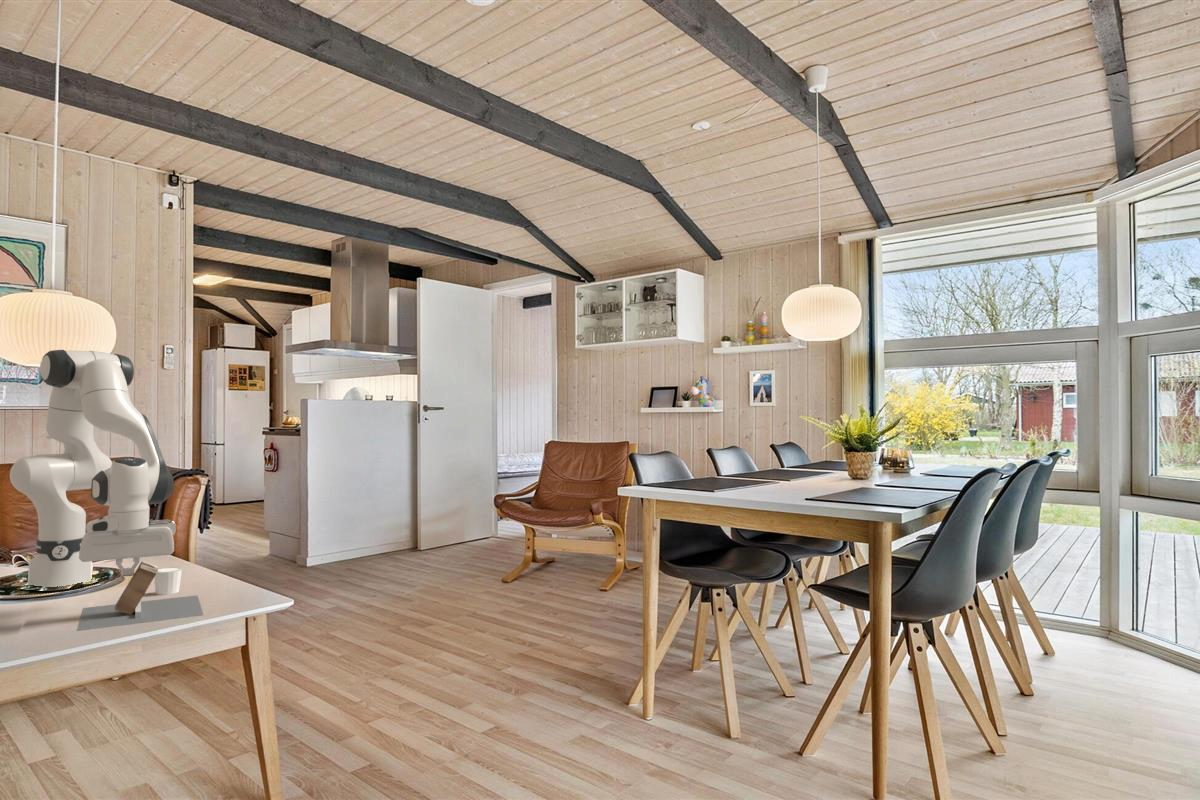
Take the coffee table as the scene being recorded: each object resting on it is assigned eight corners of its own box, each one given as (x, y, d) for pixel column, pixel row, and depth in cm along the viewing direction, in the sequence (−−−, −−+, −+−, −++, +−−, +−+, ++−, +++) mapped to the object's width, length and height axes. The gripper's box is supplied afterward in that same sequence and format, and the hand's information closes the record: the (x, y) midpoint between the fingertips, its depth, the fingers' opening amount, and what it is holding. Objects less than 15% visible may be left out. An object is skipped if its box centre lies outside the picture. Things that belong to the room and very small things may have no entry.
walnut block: (115, 605, 182) (141, 561, 185) (131, 610, 184) (157, 566, 187) (114, 609, 178) (141, 564, 181) (131, 615, 180) (158, 570, 183)
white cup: (168, 598, 198) (168, 573, 198) (147, 596, 199) (147, 571, 200) (187, 592, 205) (187, 567, 205) (166, 590, 206) (167, 566, 206)
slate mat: (83, 610, 185) (83, 602, 185) (197, 597, 199) (197, 589, 199) (77, 633, 167) (77, 624, 167) (203, 617, 181) (203, 609, 181)
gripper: (175, 516, 190) (174, 568, 189) (81, 522, 178) (79, 577, 178) (176, 520, 184) (175, 573, 184) (79, 526, 173) (77, 582, 173)
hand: (127, 575), depth 181 cm, fingers closed
